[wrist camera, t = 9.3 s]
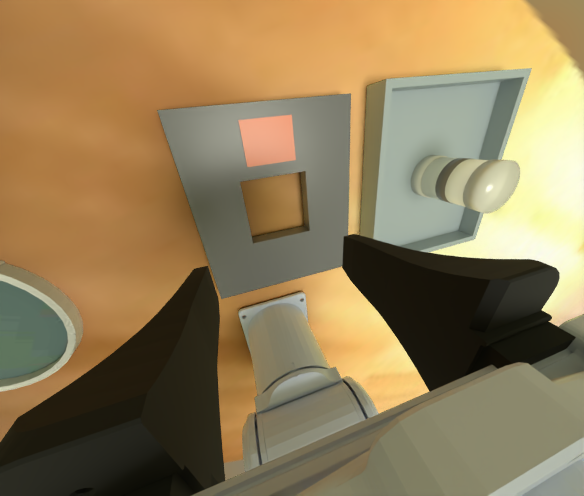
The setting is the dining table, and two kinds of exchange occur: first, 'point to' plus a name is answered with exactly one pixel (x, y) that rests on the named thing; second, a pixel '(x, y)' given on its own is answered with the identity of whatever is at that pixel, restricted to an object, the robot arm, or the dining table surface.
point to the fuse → (466, 181)
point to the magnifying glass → (34, 327)
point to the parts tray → (431, 150)
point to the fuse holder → (260, 164)
